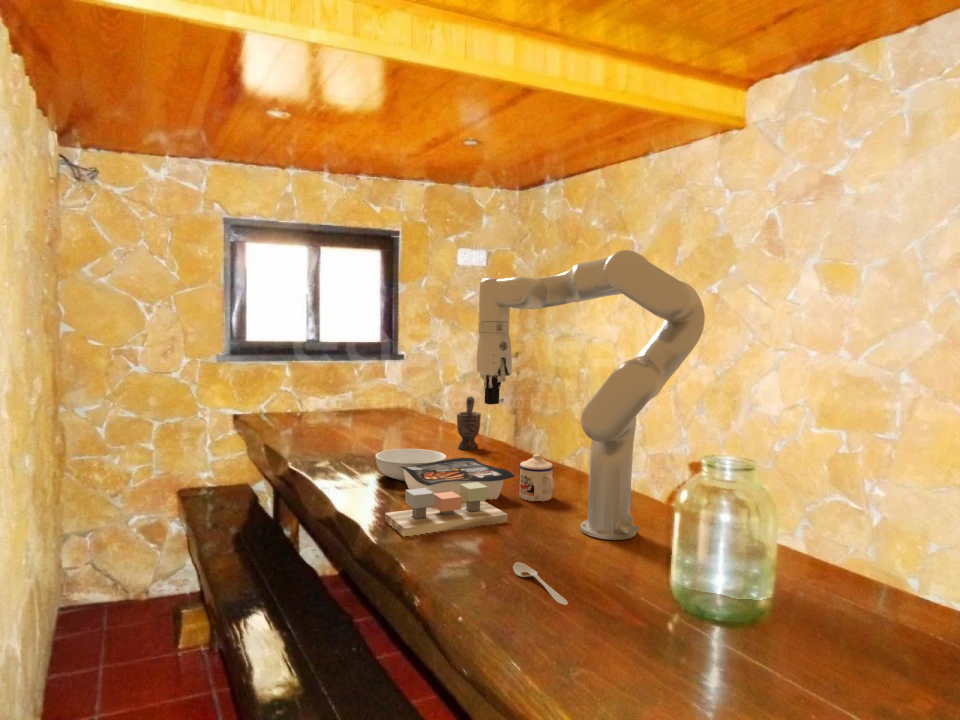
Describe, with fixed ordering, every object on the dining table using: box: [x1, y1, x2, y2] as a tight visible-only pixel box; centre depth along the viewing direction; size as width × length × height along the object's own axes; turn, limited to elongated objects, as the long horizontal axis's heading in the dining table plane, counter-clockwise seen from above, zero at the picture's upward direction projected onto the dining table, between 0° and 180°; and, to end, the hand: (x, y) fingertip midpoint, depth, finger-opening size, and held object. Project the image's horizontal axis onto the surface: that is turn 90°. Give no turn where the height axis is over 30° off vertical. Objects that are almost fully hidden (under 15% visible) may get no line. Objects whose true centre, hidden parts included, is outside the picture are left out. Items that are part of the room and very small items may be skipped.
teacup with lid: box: [519, 453, 555, 502], centre depth 175 cm, size 12×9×12 cm
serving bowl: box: [374, 448, 447, 482], centre depth 194 cm, size 21×21×7 cm
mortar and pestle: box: [456, 396, 482, 451], centre depth 237 cm, size 12×9×20 cm
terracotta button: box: [432, 492, 462, 516], centre depth 154 cm, size 5×5×6 cm
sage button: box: [460, 482, 489, 511], centre depth 157 cm, size 5×5×6 cm
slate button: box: [404, 488, 434, 518], centre depth 150 cm, size 5×5×6 cm
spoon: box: [512, 561, 569, 606], centre depth 118 cm, size 4×21×2 cm, turn 25°
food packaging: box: [397, 457, 515, 504], centre depth 177 cm, size 25×8×23 cm
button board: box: [384, 500, 508, 538], centre depth 154 cm, size 12×26×2 cm, turn 118°
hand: (491, 403), depth 161 cm, fingers closed
